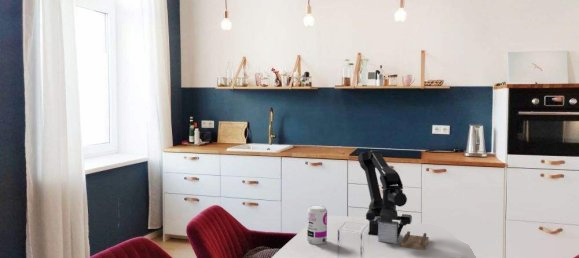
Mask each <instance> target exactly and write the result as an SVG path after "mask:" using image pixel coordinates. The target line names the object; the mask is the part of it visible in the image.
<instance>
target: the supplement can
mask: <svg viewBox="0 0 579 258" xmlns="http://www.w3.org/2000/svg"><path fill="white" fill-rule="evenodd" d="M306 231H307V233H306V235H307V236H306V237H307V238H306V240H307V242H308V243H309V244H311V245H323V244H325V243H326V242H327V241H328V239H327V238H328V237H327V235H328V234H327V233H328V210H327V208H326V206H325V205H324V206H323V205H316V204H315V205H310V206H309V207H308V209H307V230H306Z"/></svg>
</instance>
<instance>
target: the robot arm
mask: <svg viewBox="0 0 579 258" xmlns="http://www.w3.org/2000/svg"><path fill="white" fill-rule="evenodd" d="M357 161H358V162H359V166H360V168H361V169H362V170H363V171H364V174H365V178H366V183H367V187H368V192H369V196H370V203H369V205H368V210H367V212H366V214H365V220H368V221H369V224H368V226H369V227H368V233H367V234H368V235H372V236H373V235H375V236H378V226H379V221H381V222H388V223H391V222H392V221H399V229H398V239H399V238H400V235H401V232H402V230H403V228H404V227H405V226H407V225H411V223H412V222H413V217H412V214H406V213H402V214H401V215H398V210H397V207H404V206H405V205H406V204H407V202H408V201H407V200H408V198H407V195H406V194H405V193H404V192H403V190H404V184H403V181H402V179H401V176H400V174H399V173H398V171H396V169H394V168H392V167H390V166H389V164H388V163H387V161H386V160H385V158H384V157H383V155H382V152H381V150H378V149H377V150H369V151H366V152H365V151H364V152H362V151H361V152H360V153H359V154H358V156H357ZM376 170H377V171H378V173H379V175H380V176H379V179H378V176H377V172H376ZM378 180H380V183H381V185H382V186H381V188H380V186H379V181H378ZM381 189H382V193H381Z"/></svg>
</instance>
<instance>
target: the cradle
mask: <svg viewBox="0 0 579 258" xmlns="http://www.w3.org/2000/svg"><path fill="white" fill-rule="evenodd" d="M429 241H430V240H429V236H427V233H423V235H422V236H421V235H414V234H411V231H408V230H407V232H406V233H405V234H404V235H403V238H402V240H401V242H400V247H404V248H411V249H412V248H413V249H420V250H426V249H427V246H428V244H429Z"/></svg>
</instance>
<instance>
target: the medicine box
mask: <svg viewBox="0 0 579 258" xmlns="http://www.w3.org/2000/svg"><path fill="white" fill-rule="evenodd" d="M399 223H400V221H397V220H392V222H391V223H388V222H381V221H379V226H378V235H377V241H378V242H380V243H382V242H383V243H389V244H397V243H398V242H399V238H398V229H399Z"/></svg>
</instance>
